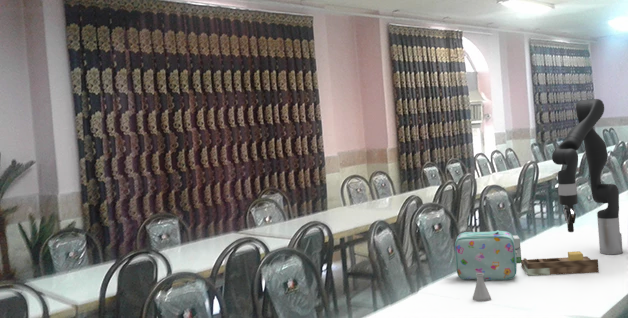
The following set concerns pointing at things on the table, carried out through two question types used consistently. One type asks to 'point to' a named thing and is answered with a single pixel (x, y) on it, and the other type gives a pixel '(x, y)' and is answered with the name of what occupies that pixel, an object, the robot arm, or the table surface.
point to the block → (575, 256)
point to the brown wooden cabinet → (559, 266)
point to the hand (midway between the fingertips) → (570, 231)
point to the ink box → (517, 248)
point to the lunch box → (486, 255)
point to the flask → (481, 289)
